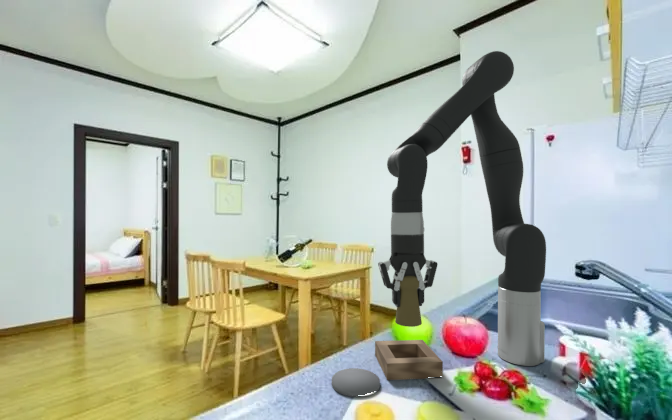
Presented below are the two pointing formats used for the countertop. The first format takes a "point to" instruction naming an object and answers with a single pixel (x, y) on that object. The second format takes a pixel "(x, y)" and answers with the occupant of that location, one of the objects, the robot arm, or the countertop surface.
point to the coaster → (355, 382)
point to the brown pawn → (408, 303)
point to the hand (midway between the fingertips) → (408, 305)
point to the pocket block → (407, 360)
